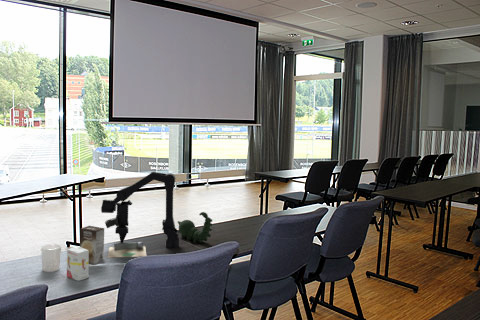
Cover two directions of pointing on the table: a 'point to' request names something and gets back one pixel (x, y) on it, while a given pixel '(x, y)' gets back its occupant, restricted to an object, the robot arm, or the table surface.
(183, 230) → the toy figurine
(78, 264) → the ink box
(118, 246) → the grey long bar
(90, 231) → the coffee box
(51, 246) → the white cup
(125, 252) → the dial board
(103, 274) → the table surface
